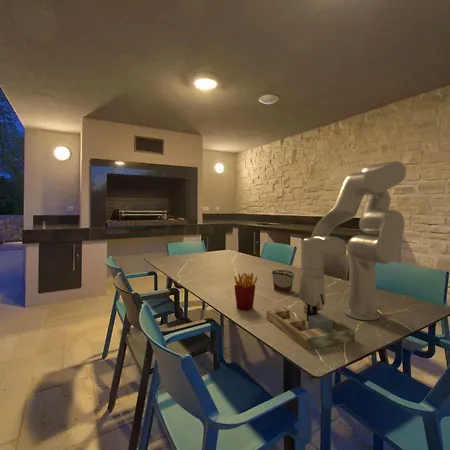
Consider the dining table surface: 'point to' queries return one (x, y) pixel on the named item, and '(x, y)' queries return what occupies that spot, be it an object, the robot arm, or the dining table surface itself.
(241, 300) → the french fries
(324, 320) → the block
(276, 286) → the food container
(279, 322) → the channel
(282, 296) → the dining table surface
